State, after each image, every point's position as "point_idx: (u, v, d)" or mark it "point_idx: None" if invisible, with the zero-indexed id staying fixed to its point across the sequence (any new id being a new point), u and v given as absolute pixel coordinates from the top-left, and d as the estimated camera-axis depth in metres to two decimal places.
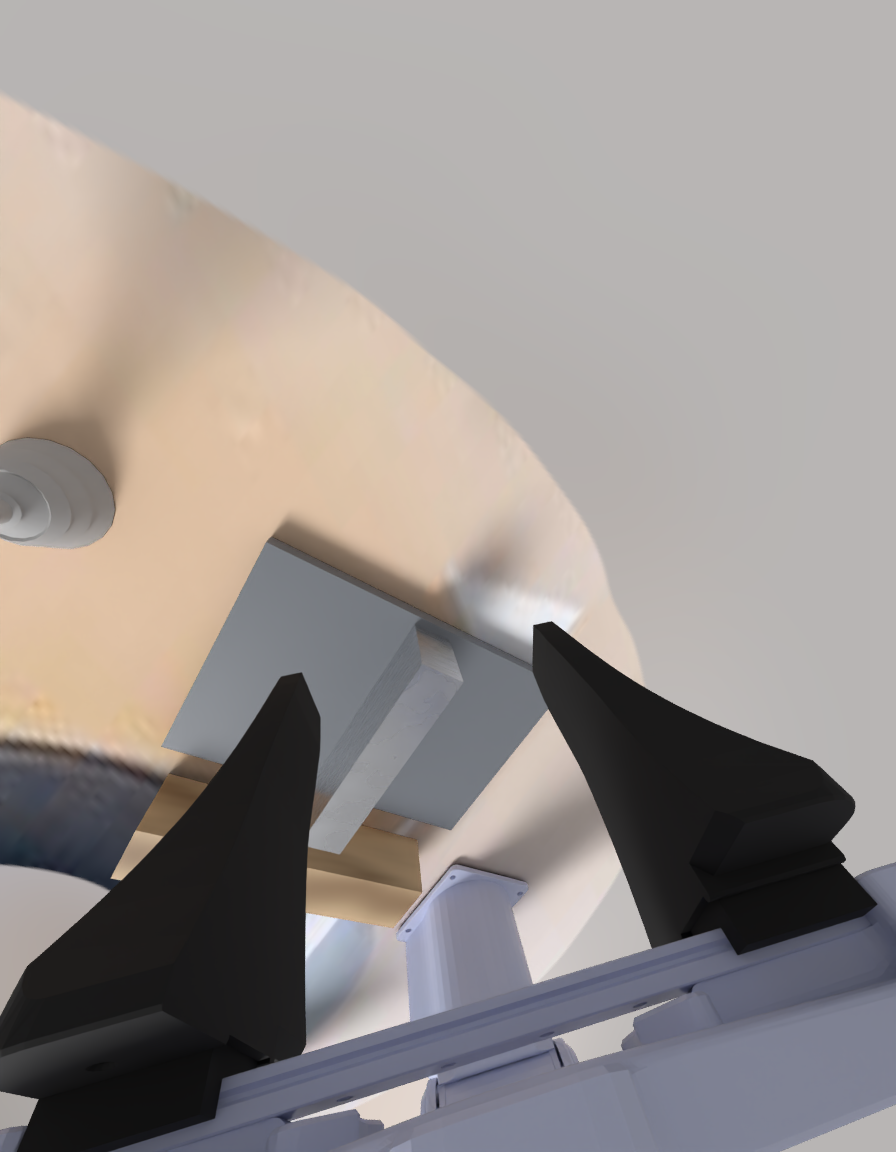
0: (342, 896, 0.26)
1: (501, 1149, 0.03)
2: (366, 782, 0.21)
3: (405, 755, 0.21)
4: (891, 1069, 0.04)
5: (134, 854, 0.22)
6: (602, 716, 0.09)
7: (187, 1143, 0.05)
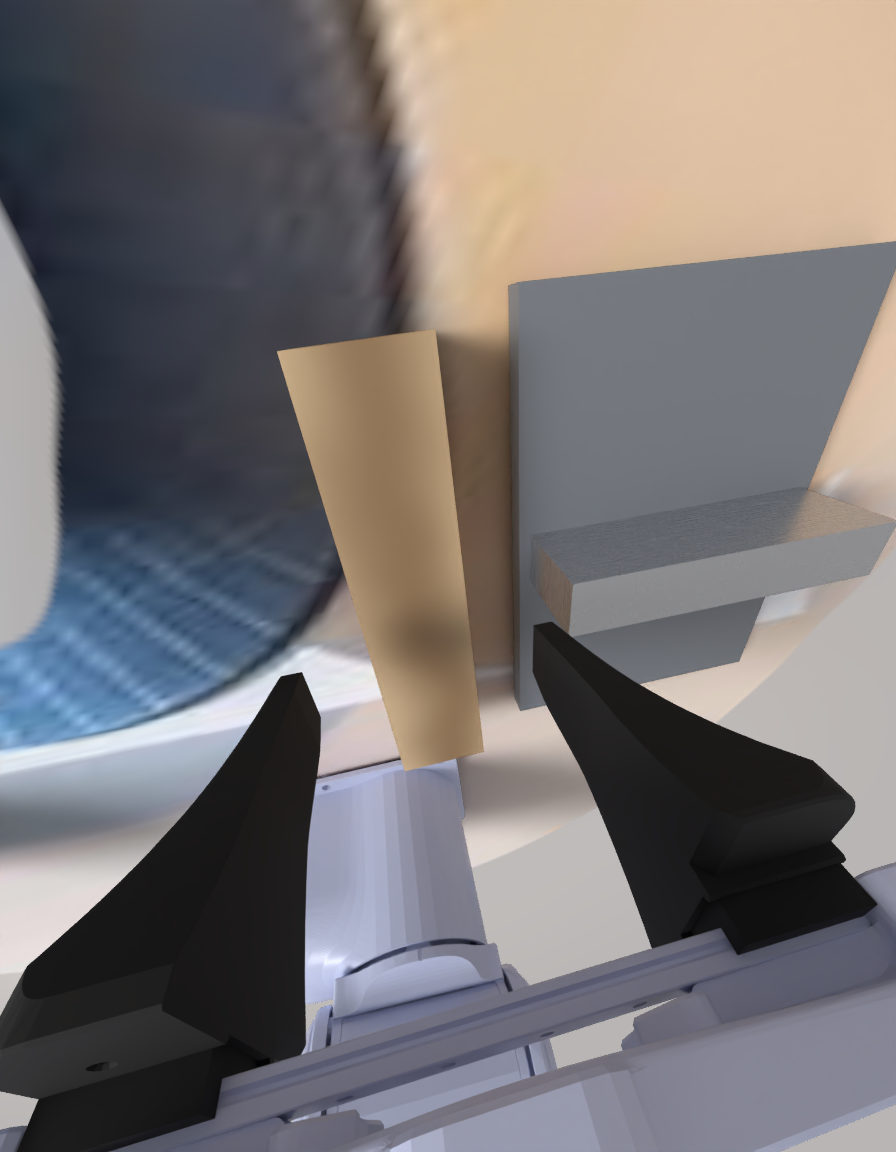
0: (432, 691, 0.17)
1: (501, 1149, 0.03)
2: (708, 583, 0.15)
3: (757, 592, 0.16)
4: (891, 1069, 0.04)
5: (369, 361, 0.10)
6: (602, 716, 0.09)
7: (187, 1143, 0.05)
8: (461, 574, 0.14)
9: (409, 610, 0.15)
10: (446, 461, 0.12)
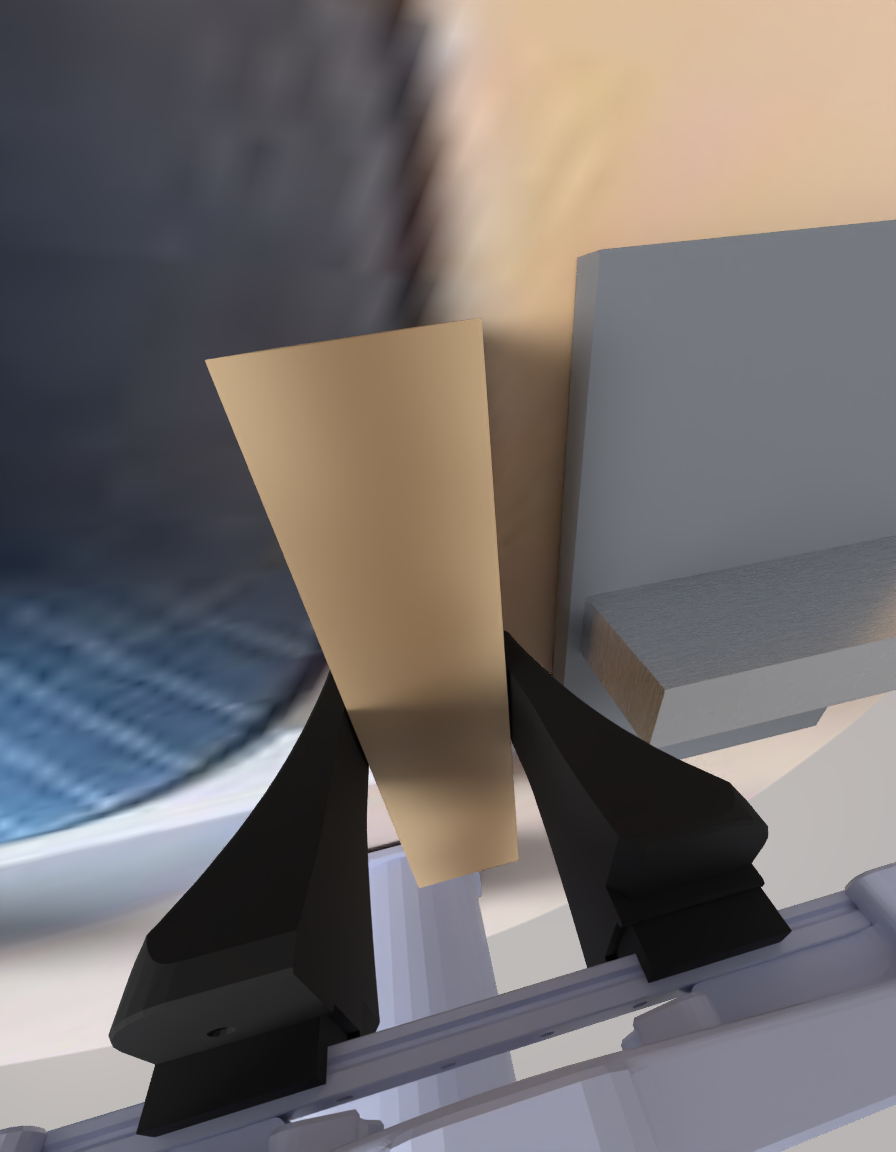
0: (456, 806, 0.13)
1: (501, 1149, 0.03)
2: (842, 676, 0.11)
3: None
4: (891, 1069, 0.04)
5: (368, 375, 0.06)
6: (539, 731, 0.09)
7: (187, 1143, 0.05)
8: (503, 672, 0.10)
9: (428, 720, 0.10)
10: (489, 525, 0.08)
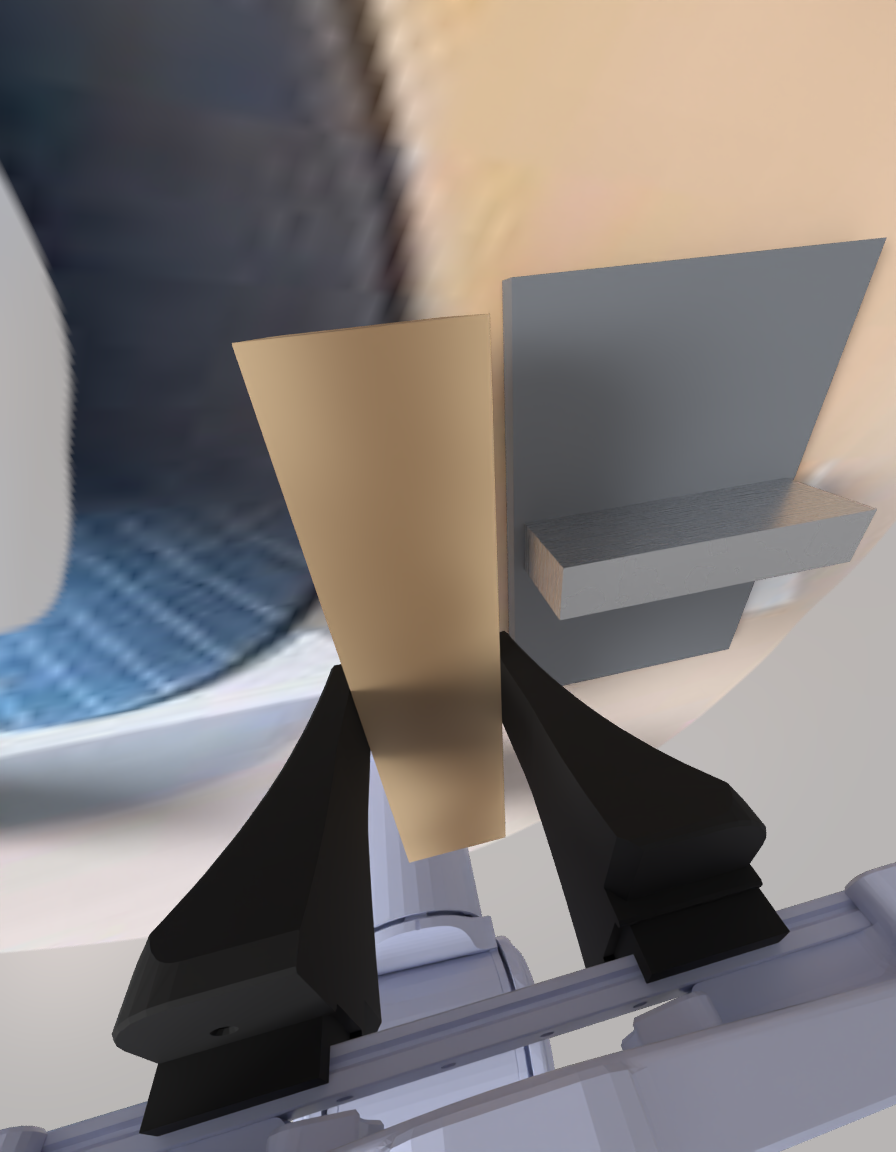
0: (448, 782, 0.13)
1: (501, 1149, 0.03)
2: (693, 568, 0.15)
3: (741, 578, 0.16)
4: (891, 1069, 0.04)
5: (382, 363, 0.06)
6: (537, 731, 0.09)
7: (187, 1143, 0.05)
8: (497, 651, 0.10)
9: (425, 696, 0.11)
10: (489, 510, 0.08)
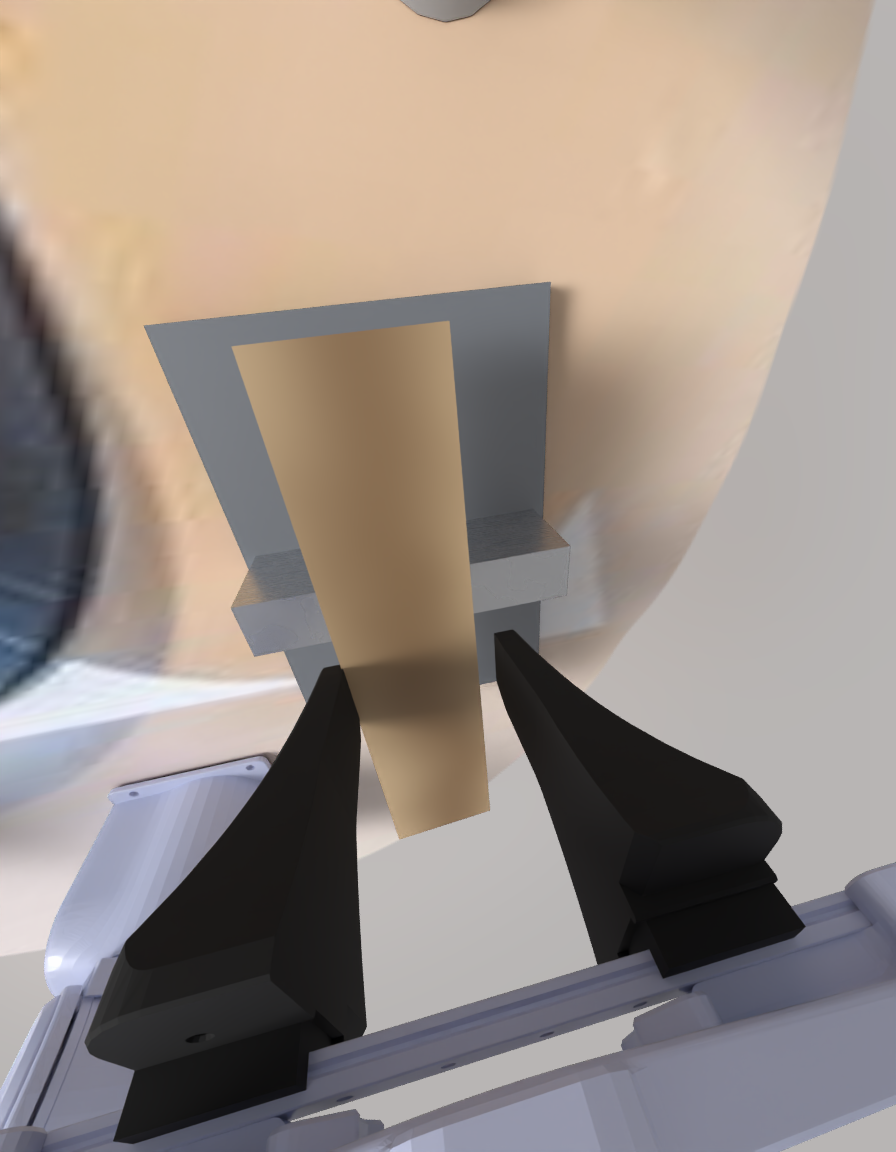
0: (433, 754, 0.14)
1: (501, 1149, 0.03)
2: None
3: None
4: (891, 1069, 0.04)
5: (361, 362, 0.08)
6: (549, 728, 0.09)
7: (187, 1143, 0.05)
8: (471, 623, 0.12)
9: (408, 667, 0.12)
10: (458, 490, 0.09)
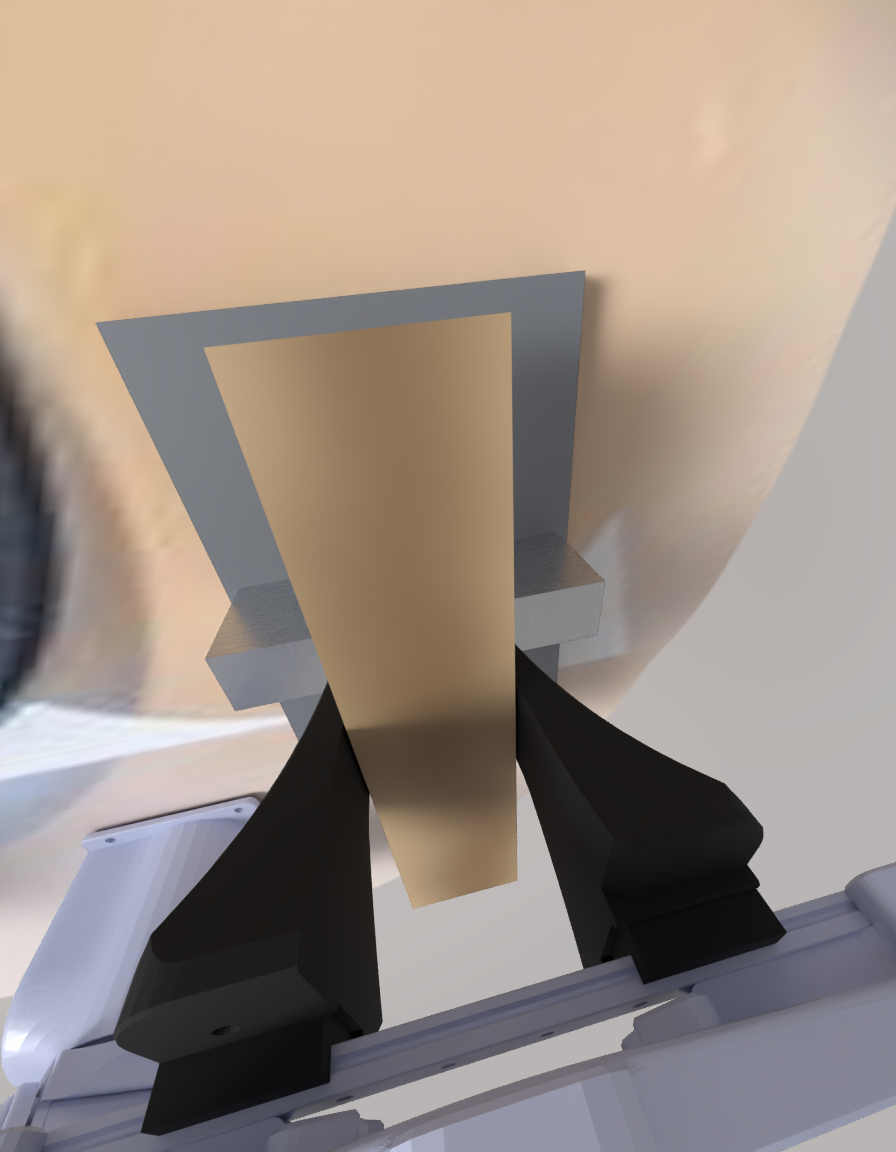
0: (456, 827, 0.12)
1: (501, 1149, 0.03)
2: None
3: None
4: (891, 1069, 0.04)
5: (384, 370, 0.05)
6: (535, 731, 0.09)
7: (187, 1143, 0.05)
8: (512, 690, 0.09)
9: (431, 739, 0.10)
10: (506, 537, 0.07)
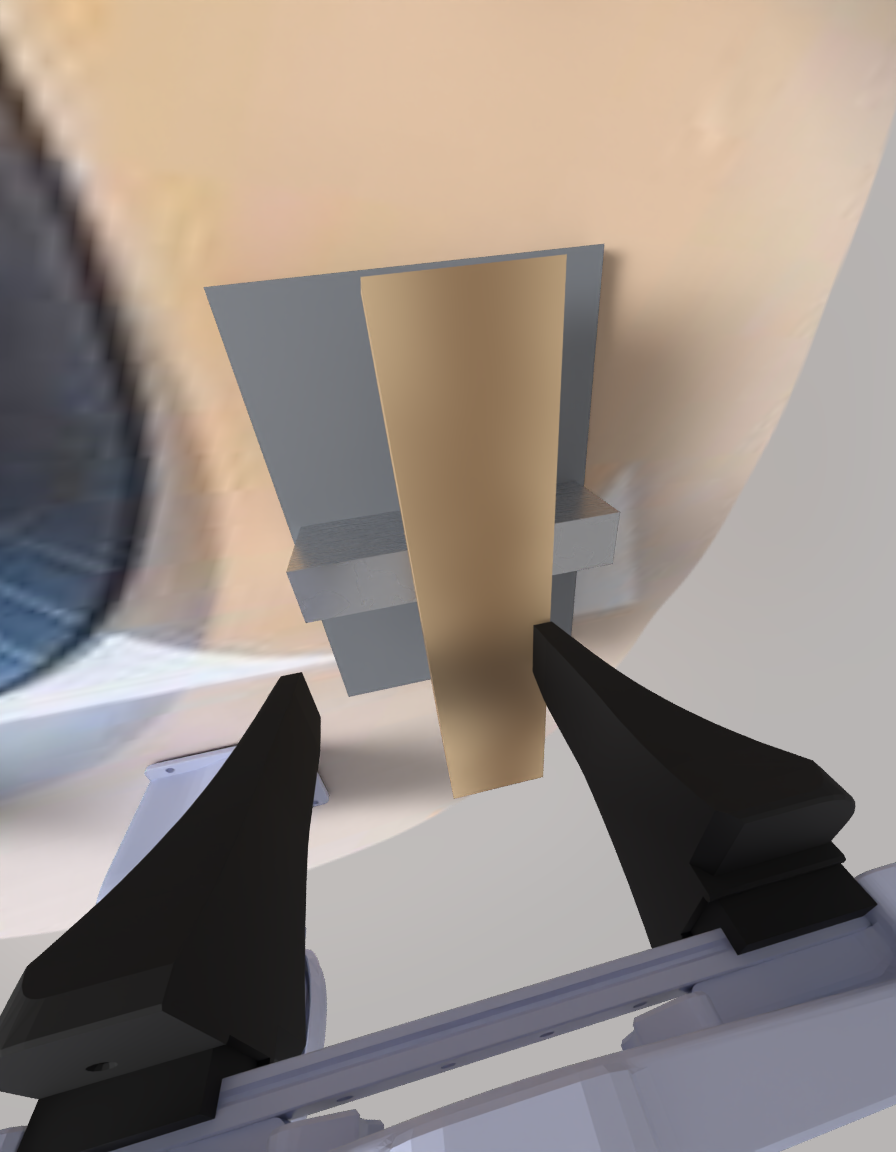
0: (496, 712, 0.14)
1: (502, 1150, 0.03)
2: None
3: None
4: (892, 1070, 0.04)
5: (477, 296, 0.08)
6: (602, 716, 0.09)
7: (187, 1143, 0.05)
8: (549, 577, 0.12)
9: (484, 619, 0.12)
10: (553, 435, 0.10)
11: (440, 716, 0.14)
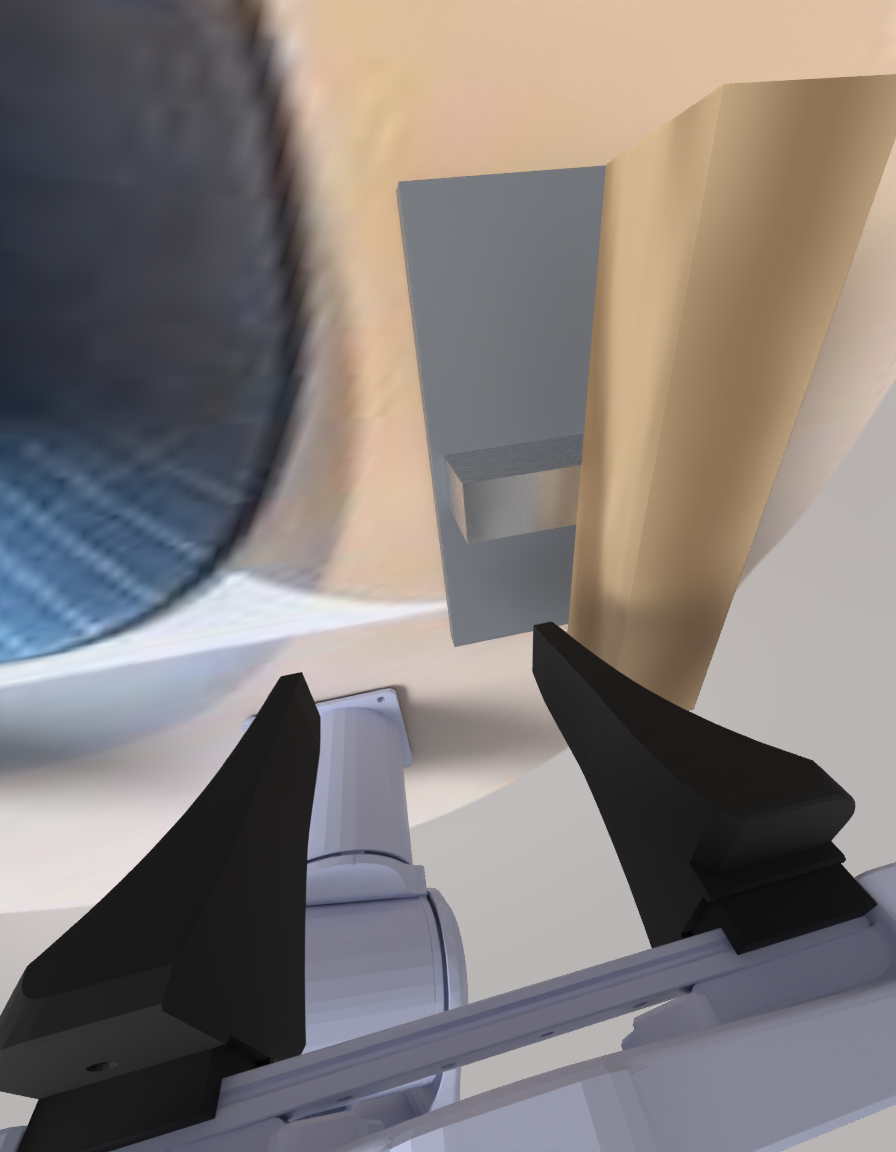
0: (676, 628, 0.14)
1: (501, 1149, 0.03)
2: None
3: None
4: (891, 1069, 0.04)
5: (821, 118, 0.07)
6: (602, 716, 0.09)
7: (187, 1143, 0.05)
8: (776, 468, 0.11)
9: (701, 515, 0.12)
10: (834, 296, 0.09)
11: (625, 630, 0.14)
